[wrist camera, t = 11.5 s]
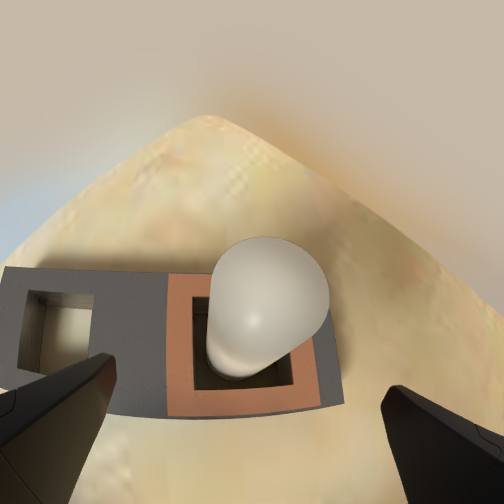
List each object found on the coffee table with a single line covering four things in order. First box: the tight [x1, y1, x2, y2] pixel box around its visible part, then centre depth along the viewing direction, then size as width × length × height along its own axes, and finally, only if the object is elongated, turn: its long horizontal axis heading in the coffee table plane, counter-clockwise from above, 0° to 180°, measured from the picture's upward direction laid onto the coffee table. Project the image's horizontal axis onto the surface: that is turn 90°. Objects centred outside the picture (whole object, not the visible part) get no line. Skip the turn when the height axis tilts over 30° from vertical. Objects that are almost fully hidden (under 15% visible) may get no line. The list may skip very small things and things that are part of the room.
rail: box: [0, 266, 344, 420], centre depth 16 cm, size 9×24×3 cm, turn 94°
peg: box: [206, 237, 330, 381], centre depth 14 cm, size 4×4×11 cm
